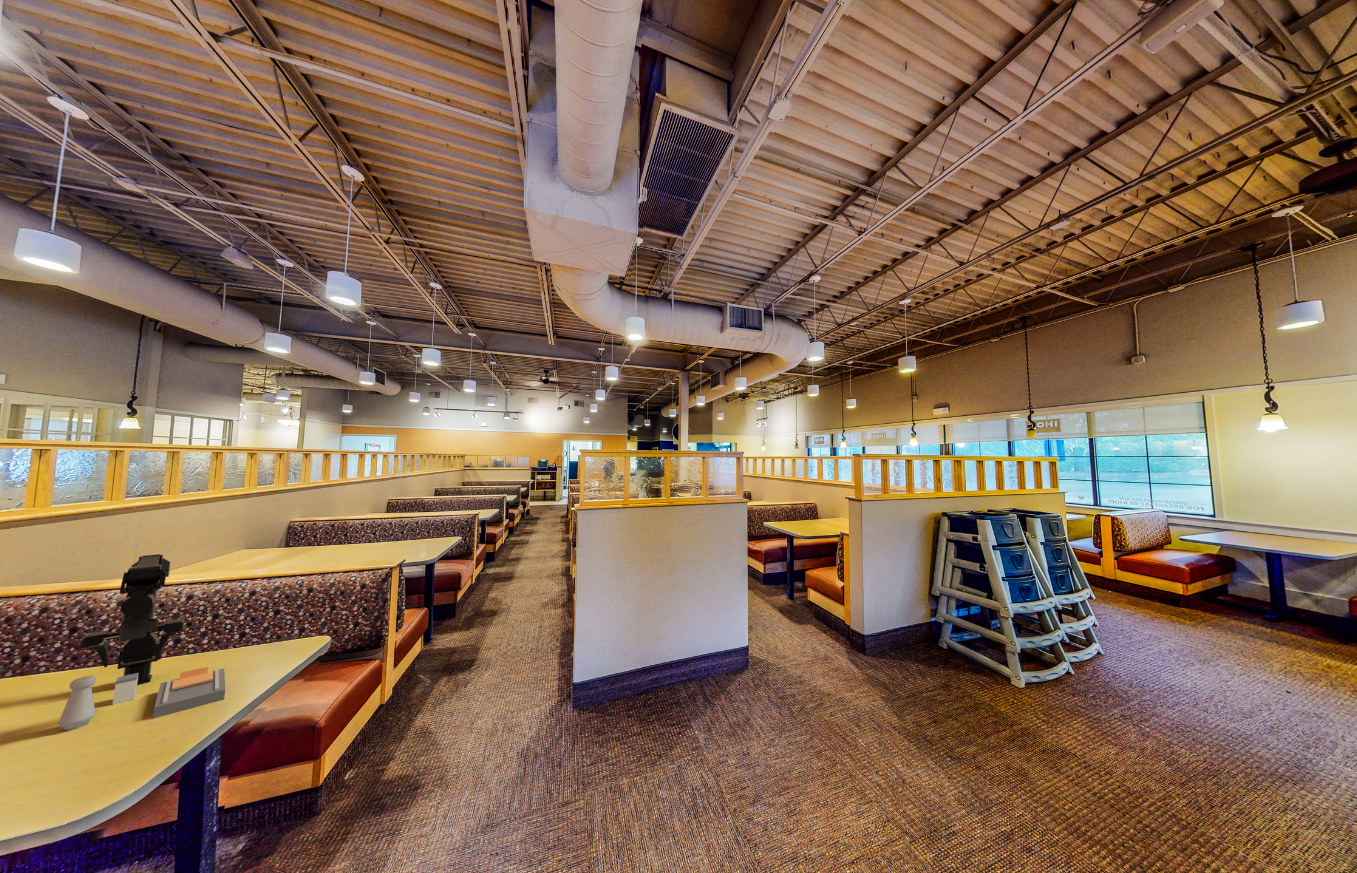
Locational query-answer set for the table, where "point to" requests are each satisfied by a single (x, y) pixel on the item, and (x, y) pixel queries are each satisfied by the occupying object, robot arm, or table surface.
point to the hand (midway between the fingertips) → (131, 661)
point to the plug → (125, 688)
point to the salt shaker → (79, 704)
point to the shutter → (193, 677)
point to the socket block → (189, 695)
